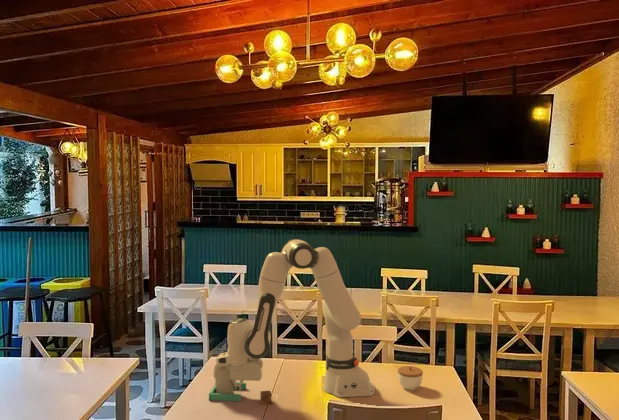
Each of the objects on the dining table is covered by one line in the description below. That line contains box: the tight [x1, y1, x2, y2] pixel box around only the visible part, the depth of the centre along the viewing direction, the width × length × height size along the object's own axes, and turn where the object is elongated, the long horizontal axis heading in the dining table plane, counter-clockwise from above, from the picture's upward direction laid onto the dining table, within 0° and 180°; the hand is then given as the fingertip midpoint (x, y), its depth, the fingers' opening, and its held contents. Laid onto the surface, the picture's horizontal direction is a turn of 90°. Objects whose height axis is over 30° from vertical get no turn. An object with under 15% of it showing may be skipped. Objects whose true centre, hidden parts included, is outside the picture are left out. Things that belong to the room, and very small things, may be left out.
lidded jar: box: [397, 365, 424, 391], centre depth 221 cm, size 11×11×9 cm
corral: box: [208, 381, 247, 402], centre depth 212 cm, size 13×13×2 cm
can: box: [214, 368, 234, 394], centre depth 212 cm, size 8×8×12 cm
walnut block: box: [259, 390, 272, 406], centre depth 204 cm, size 4×4×4 cm
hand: (238, 389), depth 211 cm, fingers closed
